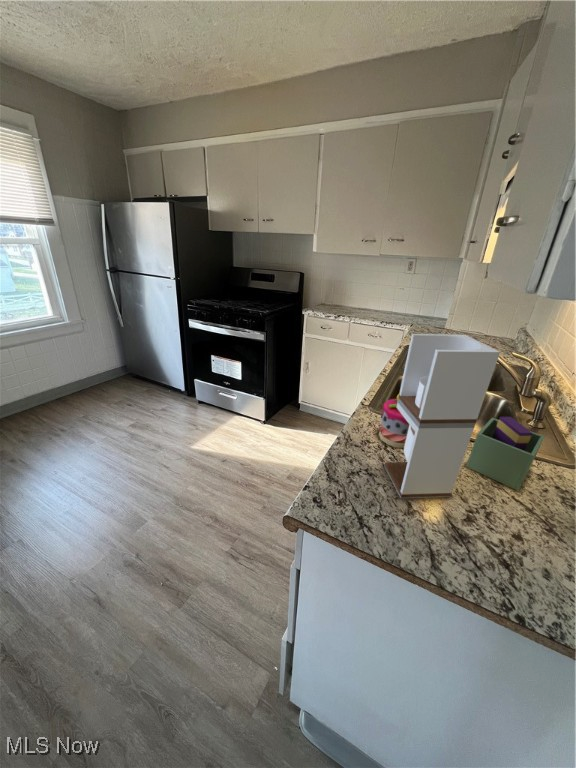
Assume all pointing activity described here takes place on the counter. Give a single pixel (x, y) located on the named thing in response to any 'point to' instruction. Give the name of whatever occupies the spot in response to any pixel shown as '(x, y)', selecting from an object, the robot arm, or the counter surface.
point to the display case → (439, 410)
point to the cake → (393, 425)
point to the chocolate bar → (512, 433)
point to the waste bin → (502, 457)
